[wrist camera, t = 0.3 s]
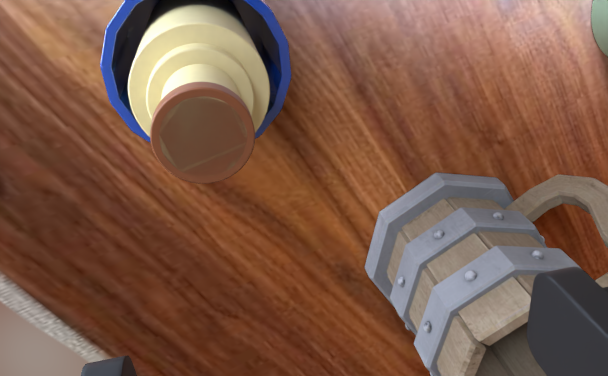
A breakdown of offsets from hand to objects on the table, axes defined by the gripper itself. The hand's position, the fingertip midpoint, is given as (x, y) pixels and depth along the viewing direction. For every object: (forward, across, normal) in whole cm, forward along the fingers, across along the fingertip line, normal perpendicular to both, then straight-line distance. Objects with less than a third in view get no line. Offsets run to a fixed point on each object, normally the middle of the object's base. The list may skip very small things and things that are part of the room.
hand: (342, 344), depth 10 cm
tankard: (+27, -17, +17) cm, 36 cm away
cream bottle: (+26, +2, -1) cm, 26 cm away
